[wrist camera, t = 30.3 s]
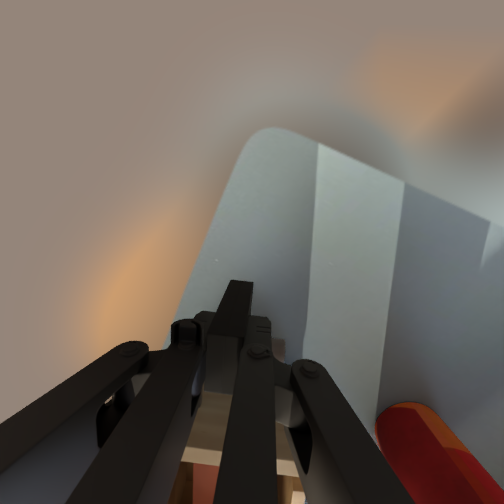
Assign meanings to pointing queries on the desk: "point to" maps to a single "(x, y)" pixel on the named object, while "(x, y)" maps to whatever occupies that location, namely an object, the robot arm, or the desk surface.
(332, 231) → the desk surface
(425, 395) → the desk surface
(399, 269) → the desk surface
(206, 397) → the drawer
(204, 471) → the block
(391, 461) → the coffee cup
